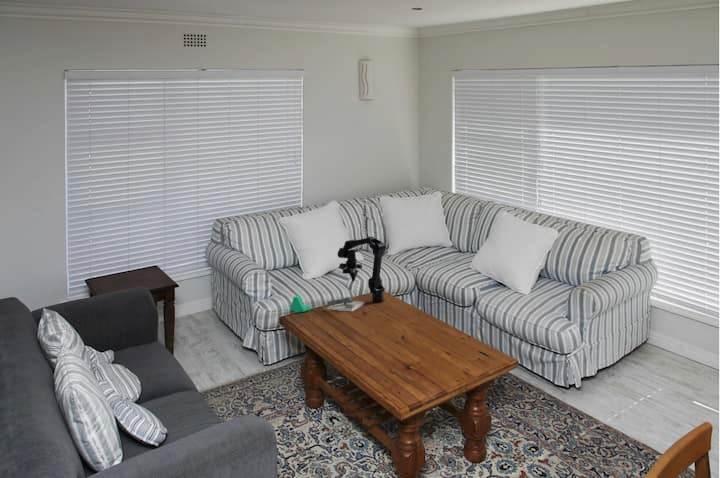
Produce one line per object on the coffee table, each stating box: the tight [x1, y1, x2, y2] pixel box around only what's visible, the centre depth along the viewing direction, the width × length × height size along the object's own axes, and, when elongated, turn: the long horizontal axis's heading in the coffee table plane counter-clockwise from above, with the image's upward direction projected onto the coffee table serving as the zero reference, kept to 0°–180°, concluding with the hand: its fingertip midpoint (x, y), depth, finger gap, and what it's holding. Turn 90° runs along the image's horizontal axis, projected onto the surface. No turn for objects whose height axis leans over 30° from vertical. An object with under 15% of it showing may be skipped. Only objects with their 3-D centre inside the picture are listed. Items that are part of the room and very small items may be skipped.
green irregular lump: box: [289, 295, 312, 313], centre depth 388 cm, size 12×8×10 cm, turn 51°
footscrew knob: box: [327, 296, 353, 307], centre depth 387 cm, size 17×6×4 cm, turn 115°
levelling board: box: [326, 300, 365, 312], centre depth 388 cm, size 18×18×4 cm
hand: (353, 281), depth 408 cm, fingers closed
